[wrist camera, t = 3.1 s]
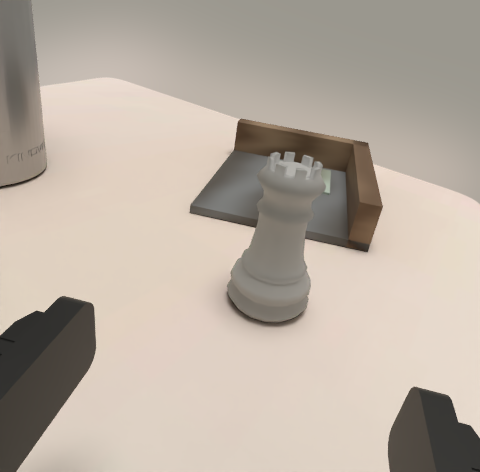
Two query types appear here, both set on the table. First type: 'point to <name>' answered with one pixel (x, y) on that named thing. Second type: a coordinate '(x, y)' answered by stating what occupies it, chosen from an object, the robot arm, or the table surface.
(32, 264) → the table surface
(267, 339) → the table surface
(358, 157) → the corner arena
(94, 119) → the table surface
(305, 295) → the rook chess piece
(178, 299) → the table surface
